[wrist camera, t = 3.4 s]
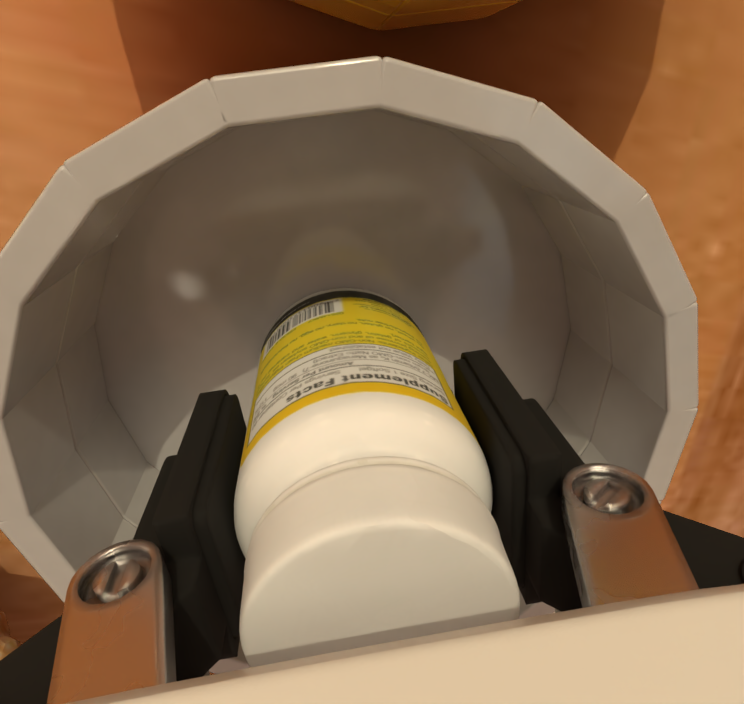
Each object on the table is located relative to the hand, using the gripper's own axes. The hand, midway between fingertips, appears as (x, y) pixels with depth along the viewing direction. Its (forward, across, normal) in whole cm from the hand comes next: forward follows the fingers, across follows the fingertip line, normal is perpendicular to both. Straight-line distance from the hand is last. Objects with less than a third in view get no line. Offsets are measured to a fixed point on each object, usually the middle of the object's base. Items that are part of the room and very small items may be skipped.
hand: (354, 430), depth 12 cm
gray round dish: (+4, 0, 0) cm, 4 cm away
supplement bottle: (+4, 0, 0) cm, 4 cm away
